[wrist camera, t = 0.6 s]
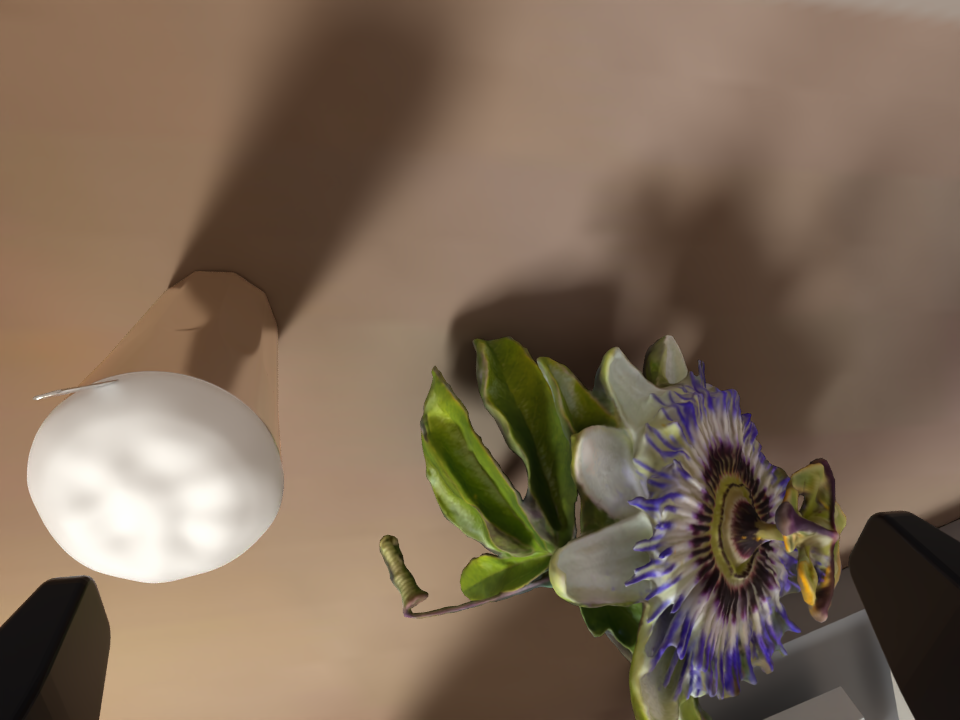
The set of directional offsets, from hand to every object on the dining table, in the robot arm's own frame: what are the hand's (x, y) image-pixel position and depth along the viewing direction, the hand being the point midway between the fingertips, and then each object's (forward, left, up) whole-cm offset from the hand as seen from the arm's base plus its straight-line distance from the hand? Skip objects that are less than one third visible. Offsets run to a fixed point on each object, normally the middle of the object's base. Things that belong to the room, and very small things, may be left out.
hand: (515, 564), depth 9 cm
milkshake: (-1, +6, -14) cm, 16 cm away
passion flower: (-9, -4, -15) cm, 18 cm away
